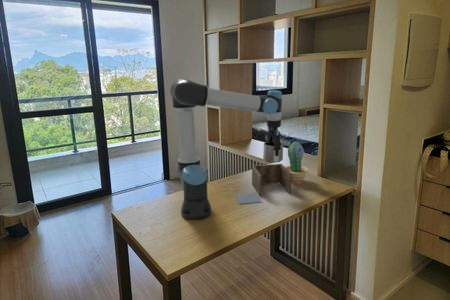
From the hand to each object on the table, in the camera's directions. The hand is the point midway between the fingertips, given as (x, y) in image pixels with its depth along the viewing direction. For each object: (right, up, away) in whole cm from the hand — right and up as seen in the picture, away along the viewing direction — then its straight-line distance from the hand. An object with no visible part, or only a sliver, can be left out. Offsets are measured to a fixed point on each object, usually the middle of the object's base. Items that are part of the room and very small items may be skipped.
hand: (272, 158), depth 177 cm
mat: (-14, -22, -4) cm, 27 cm away
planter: (0, -1, 0) cm, 1 cm away
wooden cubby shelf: (0, -18, +9) cm, 20 cm away
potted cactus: (+16, -15, +19) cm, 30 cm away
